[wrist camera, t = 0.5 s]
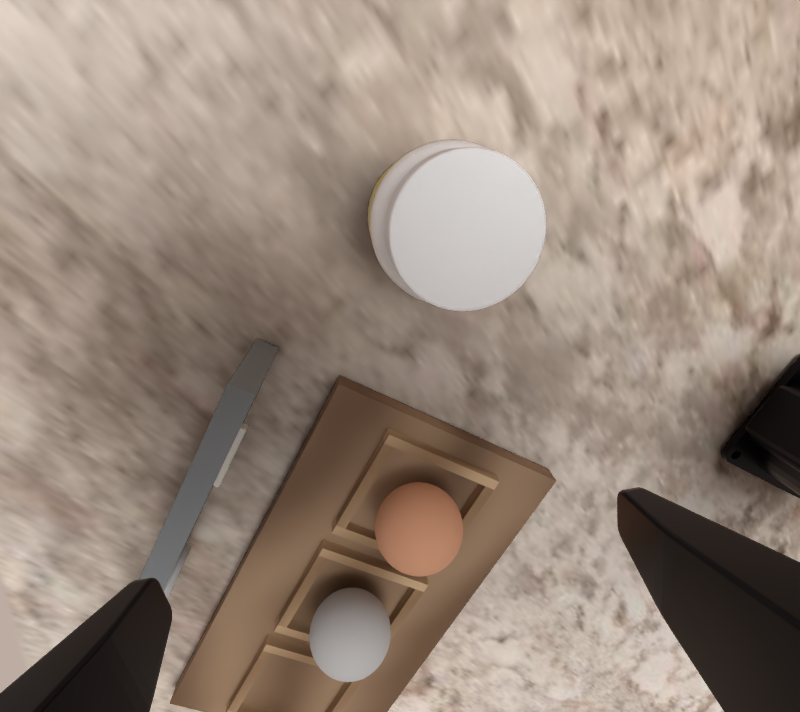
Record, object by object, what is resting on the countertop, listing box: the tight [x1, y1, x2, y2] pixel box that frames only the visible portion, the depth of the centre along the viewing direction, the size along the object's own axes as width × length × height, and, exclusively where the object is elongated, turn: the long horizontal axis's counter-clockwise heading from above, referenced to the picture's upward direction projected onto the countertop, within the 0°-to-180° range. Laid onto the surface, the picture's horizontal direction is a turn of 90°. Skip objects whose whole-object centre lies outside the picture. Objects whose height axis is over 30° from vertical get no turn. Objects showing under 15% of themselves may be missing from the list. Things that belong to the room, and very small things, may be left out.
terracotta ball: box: [375, 482, 463, 577], centre depth 21 cm, size 4×4×4 cm
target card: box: [139, 338, 278, 598], centre depth 21 cm, size 1×22×5 cm, turn 152°
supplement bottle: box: [367, 140, 546, 311], centre depth 15 cm, size 5×5×8 cm
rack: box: [170, 376, 556, 712], centre depth 25 cm, size 12×22×2 cm, turn 152°
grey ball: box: [309, 587, 391, 682], centre depth 23 cm, size 4×4×4 cm
